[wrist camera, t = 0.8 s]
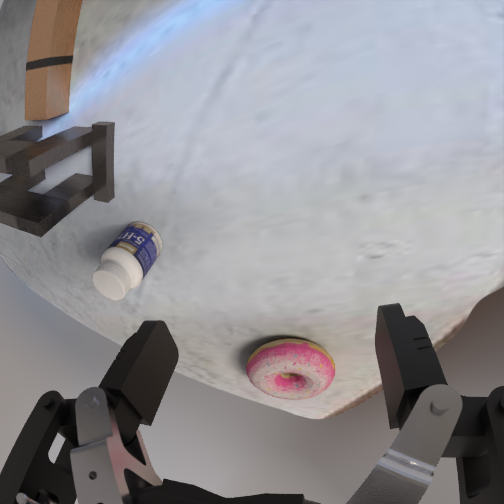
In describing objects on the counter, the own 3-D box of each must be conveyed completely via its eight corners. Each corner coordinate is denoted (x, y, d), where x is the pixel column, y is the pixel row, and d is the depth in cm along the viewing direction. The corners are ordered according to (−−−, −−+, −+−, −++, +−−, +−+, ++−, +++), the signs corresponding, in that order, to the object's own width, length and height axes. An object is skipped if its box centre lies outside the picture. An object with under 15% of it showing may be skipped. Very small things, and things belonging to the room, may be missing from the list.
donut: (273, 318, 38) (269, 348, 34) (352, 347, 40) (355, 375, 36) (237, 364, 46) (231, 389, 42) (305, 386, 47) (304, 410, 43)
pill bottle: (156, 219, 32) (119, 265, 25) (168, 257, 35) (138, 307, 27) (120, 222, 33) (80, 264, 25) (132, 257, 36) (99, 303, 28)
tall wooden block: (67, -27, 14) (45, -31, 11) (92, -35, 14) (70, -41, 11) (47, 112, 25) (24, 120, 22) (69, 112, 25) (45, 119, 22)
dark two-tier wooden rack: (12, 121, 26) (-47, 148, 17) (114, 122, 26) (42, 153, 17) (18, 178, 31) (-34, 214, 22) (114, 197, 31) (56, 248, 22)
